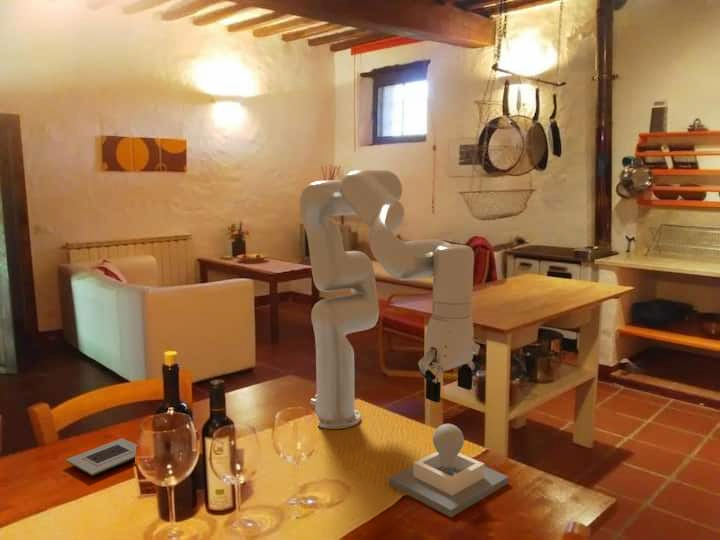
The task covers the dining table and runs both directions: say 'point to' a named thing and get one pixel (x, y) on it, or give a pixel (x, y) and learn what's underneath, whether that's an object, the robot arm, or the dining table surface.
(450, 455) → the lightbulb
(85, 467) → the electrical outlet
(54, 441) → the dining table surface
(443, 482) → the lamp base
